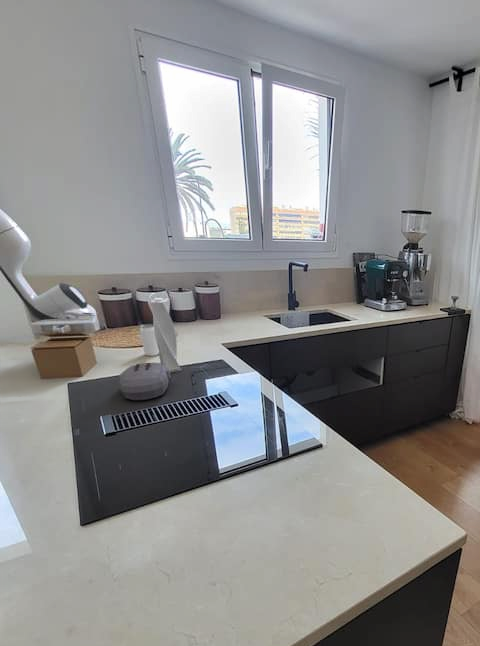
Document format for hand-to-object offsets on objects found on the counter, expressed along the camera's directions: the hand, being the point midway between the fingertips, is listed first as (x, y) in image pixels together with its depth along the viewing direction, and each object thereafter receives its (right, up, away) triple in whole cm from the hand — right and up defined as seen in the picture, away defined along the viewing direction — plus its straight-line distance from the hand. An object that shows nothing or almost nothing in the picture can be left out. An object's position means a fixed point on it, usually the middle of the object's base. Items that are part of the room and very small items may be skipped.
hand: (57, 331), depth 138 cm
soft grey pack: (+36, -21, -8) cm, 43 cm away
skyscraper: (+35, -13, +11) cm, 38 cm away
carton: (-1, -13, +7) cm, 15 cm away
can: (+20, -5, +27) cm, 34 cm away
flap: (-1, -1, +5) cm, 5 cm away
